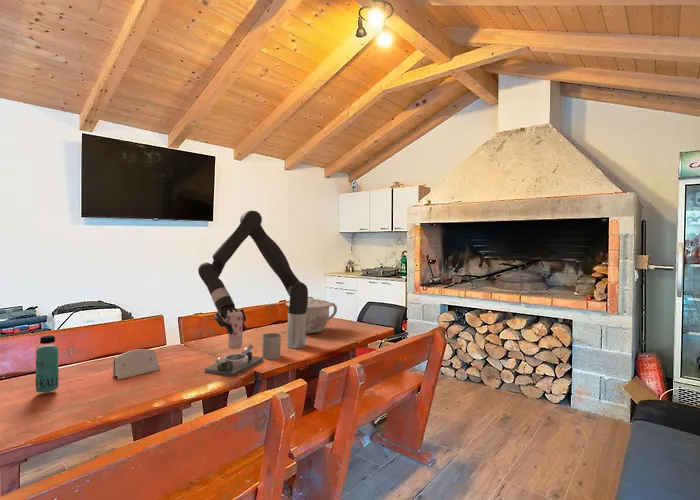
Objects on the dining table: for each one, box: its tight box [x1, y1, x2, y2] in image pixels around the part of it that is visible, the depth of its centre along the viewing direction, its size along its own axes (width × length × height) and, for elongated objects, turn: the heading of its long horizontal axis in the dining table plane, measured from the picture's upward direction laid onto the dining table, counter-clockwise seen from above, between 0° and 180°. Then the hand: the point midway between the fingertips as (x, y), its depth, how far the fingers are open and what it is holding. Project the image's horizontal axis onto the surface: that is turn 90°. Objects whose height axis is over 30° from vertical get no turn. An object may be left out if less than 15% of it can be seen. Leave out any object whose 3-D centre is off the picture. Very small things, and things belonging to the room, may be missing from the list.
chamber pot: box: [285, 296, 338, 335], centre depth 235 cm, size 28×28×21 cm
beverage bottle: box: [34, 335, 60, 394], centre depth 136 cm, size 6×7×20 cm
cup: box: [261, 332, 282, 360], centre depth 184 cm, size 8×8×10 cm
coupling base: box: [204, 343, 264, 377], centre depth 169 cm, size 24×14×7 cm, turn 161°
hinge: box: [112, 348, 161, 380], centre depth 160 cm, size 17×5×10 cm, turn 141°
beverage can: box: [227, 312, 244, 351], centre depth 169 cm, size 6×6×15 cm
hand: (238, 331), depth 168 cm, fingers closed on beverage can, 5 cm apart
